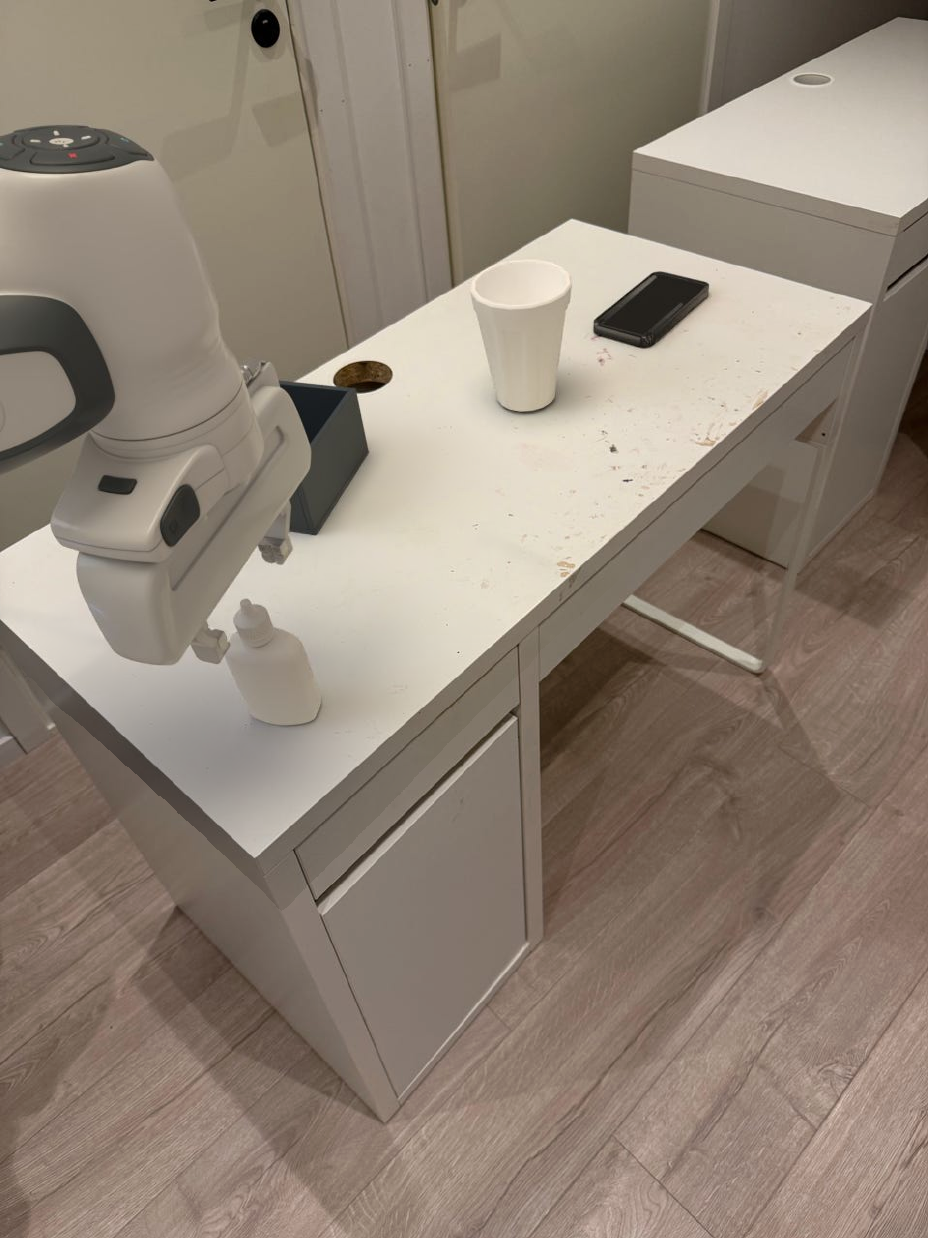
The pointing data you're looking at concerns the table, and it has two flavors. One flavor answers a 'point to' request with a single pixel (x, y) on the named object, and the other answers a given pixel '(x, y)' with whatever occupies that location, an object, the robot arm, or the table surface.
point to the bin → (325, 450)
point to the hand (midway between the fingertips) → (248, 603)
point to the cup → (522, 328)
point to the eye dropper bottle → (271, 669)
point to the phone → (651, 308)
